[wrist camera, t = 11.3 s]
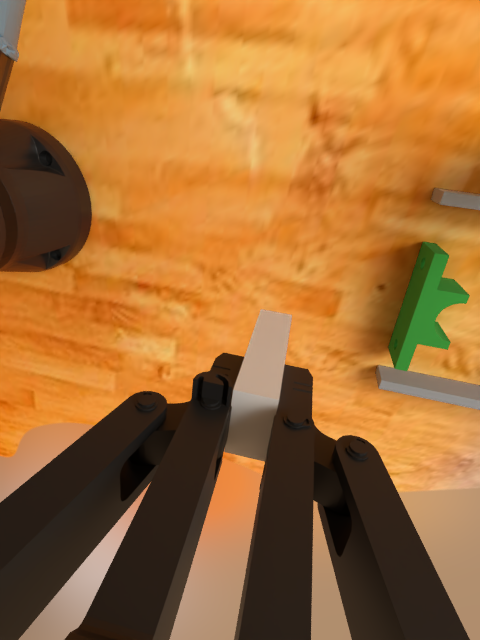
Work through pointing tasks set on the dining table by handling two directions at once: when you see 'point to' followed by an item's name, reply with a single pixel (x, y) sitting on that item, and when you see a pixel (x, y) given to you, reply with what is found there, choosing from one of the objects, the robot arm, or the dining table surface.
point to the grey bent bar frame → (429, 384)
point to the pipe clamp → (424, 306)
